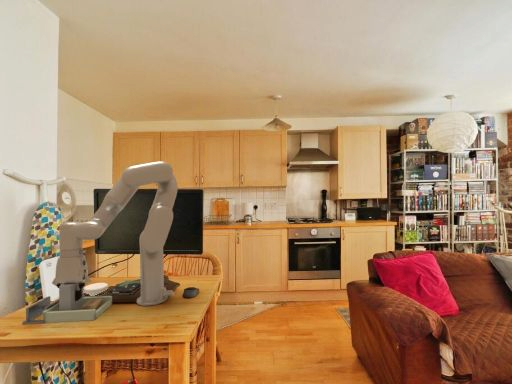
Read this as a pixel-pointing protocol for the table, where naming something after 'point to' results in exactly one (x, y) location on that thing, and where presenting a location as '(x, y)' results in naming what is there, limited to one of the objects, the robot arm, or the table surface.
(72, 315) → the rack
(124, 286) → the disk drive
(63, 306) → the sheet
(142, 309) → the table surface
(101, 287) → the white fluted dish
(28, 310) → the stand
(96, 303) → the offcut upper
